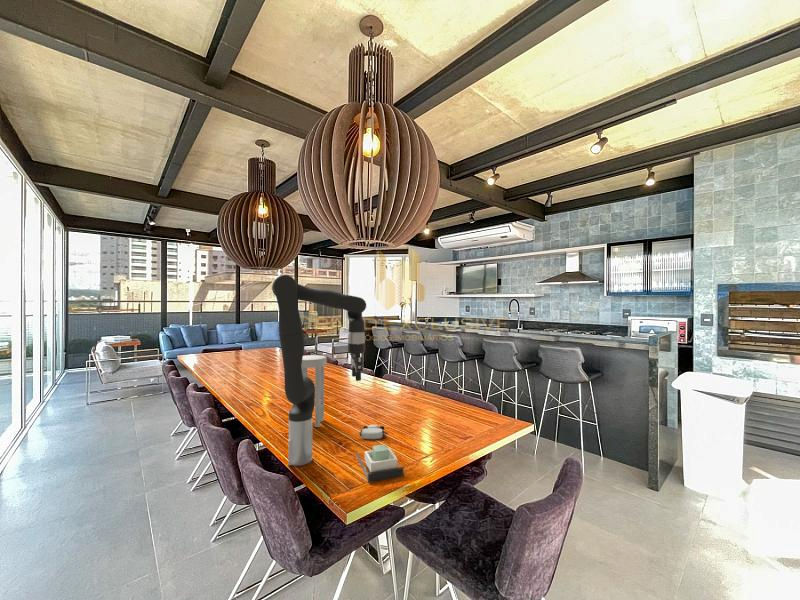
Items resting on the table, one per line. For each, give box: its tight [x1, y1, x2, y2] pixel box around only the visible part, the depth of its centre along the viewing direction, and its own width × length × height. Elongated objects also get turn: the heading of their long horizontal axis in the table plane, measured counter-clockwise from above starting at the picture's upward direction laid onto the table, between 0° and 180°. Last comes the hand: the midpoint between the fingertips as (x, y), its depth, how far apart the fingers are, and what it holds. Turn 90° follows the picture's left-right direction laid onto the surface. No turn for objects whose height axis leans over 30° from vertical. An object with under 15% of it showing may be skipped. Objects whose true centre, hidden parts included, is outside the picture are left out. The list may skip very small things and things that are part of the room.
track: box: [355, 453, 404, 483], centre depth 129 cm, size 13×22×4 cm, turn 19°
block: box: [372, 444, 389, 462], centre depth 125 cm, size 5×5×5 cm
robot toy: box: [358, 423, 386, 440], centre depth 159 cm, size 12×4×15 cm
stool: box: [302, 354, 328, 428], centre depth 176 cm, size 16×16×35 cm
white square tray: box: [364, 447, 399, 472], centre depth 125 cm, size 10×10×6 cm
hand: (356, 378), depth 148 cm, fingers open, 8 cm apart
